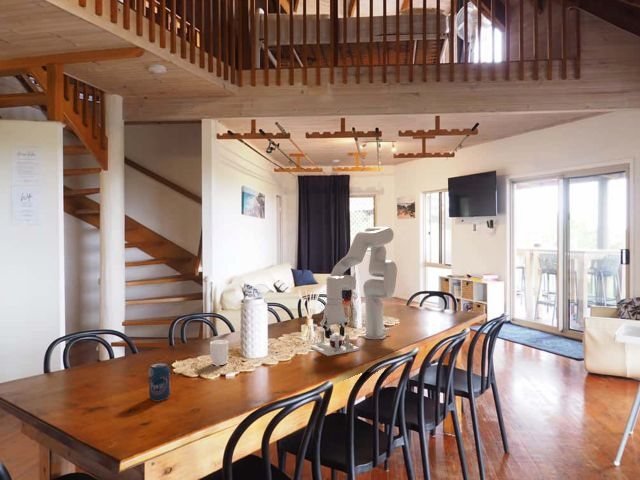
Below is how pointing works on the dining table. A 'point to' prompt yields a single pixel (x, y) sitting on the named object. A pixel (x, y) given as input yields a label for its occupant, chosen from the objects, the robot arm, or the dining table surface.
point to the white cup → (219, 351)
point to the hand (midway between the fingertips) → (334, 336)
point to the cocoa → (332, 339)
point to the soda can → (159, 381)
